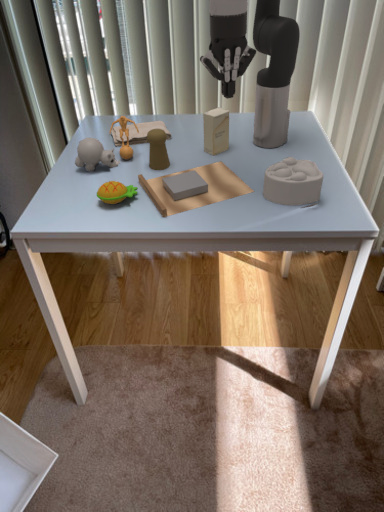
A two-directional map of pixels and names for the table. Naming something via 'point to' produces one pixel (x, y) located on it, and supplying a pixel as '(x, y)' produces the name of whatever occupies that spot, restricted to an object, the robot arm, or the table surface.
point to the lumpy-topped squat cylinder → (293, 182)
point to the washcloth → (138, 137)
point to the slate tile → (185, 185)
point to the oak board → (219, 189)
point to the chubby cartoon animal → (94, 155)
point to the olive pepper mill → (158, 150)
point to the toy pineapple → (115, 192)
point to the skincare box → (216, 131)
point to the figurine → (126, 150)
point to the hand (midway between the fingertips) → (228, 97)
